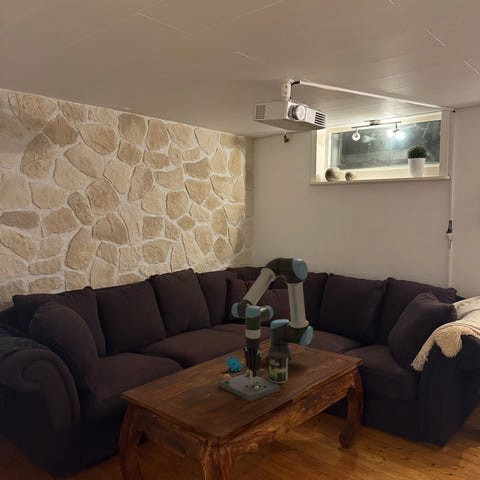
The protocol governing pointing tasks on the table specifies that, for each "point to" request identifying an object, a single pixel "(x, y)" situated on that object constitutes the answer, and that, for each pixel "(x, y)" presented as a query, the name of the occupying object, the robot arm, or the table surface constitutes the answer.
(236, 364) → the gear
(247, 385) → the plate
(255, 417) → the table surface
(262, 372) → the table surface
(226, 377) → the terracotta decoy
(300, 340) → the robot arm
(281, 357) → the coffee can
